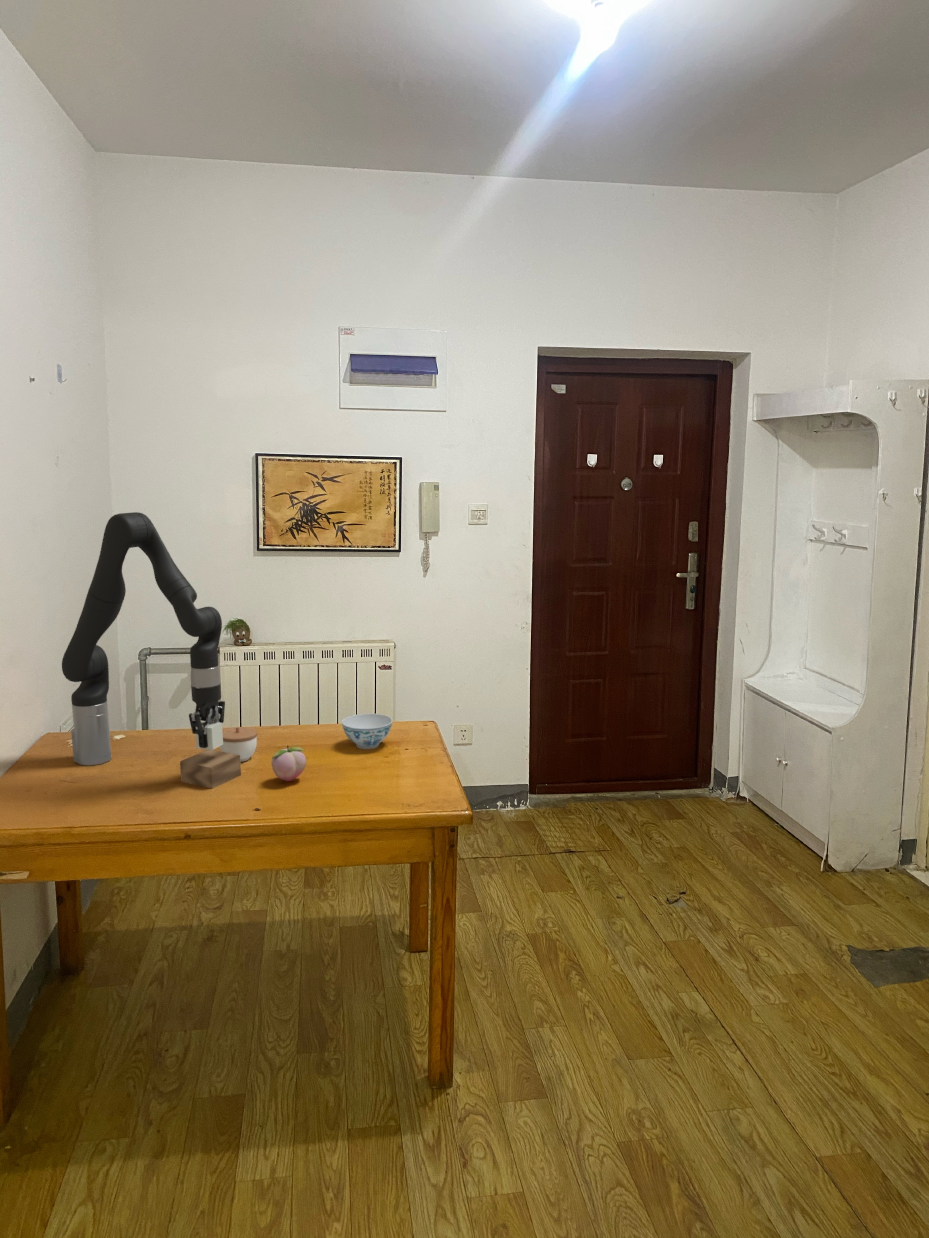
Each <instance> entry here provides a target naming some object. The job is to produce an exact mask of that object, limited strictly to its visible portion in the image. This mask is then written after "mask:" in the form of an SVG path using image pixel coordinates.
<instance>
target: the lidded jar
mask: <svg viewBox="0 0 929 1238" xmlns="http://www.w3.org/2000/svg"><path fill="white" fill-rule="evenodd" d="M222 732H223V745H221V746H219V747H220V751H221V752H227V753H232V754H237V755H240V763H242V762H246V761H249V760H250V759H251V757H252V756H253V755H254V753H255V751H256V750H257V744H258V731H257V729H255V728H253V727H252V728H251V727H247V726H245V727H244V726H243V727H242V726H236V727H230V728H227V729H224V730H222Z"/></svg>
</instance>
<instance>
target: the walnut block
mask: <svg viewBox="0 0 929 1238" xmlns="http://www.w3.org/2000/svg"><path fill="white" fill-rule="evenodd" d="M179 765H180V767H179V768H180V781H181V782H182V783H185V784H190V785H195V786H199V787H203V788H207V789H212V790H213V789H215V788H217V787H219V786H221V785H223V784H225V783H227V782H230V781H232V780H234V779H236V778H238V777H240V776H241V775H242V767H241V765H242V764H241V762H240V755H237V754H232V753H227V752H222V751H221V750H215V749H214V750H207V749H205V750H203V751H201V752H198V753H197V754H194V755H192V756H189V757H187V758H184V759H182V760H180V761H179Z"/></svg>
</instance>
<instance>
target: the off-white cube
mask: <svg viewBox="0 0 929 1238" xmlns="http://www.w3.org/2000/svg"><path fill="white" fill-rule="evenodd" d="M202 722H203V723H205V722H206V721H202ZM203 728H204V726H203V725H202V729H203ZM196 729H197V727H196ZM222 731H223V723H218V722H217V723H215V722H214V721H213V722H210V725H209V726H208V728H207V740H208V747H207V748H200V747H199V738H198V734H195V747H196V749H199V750H200V749H201V750H215V749H217V748H219V747H220V746H221V745H223V732H222Z"/></svg>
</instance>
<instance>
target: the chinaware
mask: <svg viewBox="0 0 929 1238" xmlns="http://www.w3.org/2000/svg"><path fill="white" fill-rule="evenodd" d="M341 725H342V729H343V732H344V734H345V736H346V737H347V738H348V740H350V742H352V743H354V744H355V745H356V747H357V748H358V749H361V750H362V749H363V750H372V749H376V748H378V747H379V746H380V743H381V742H383V741H384V740H385V739H386V738H387V737H388V735H389V734H390V731H391V729H392V725H393V718H392V717H391V716H388V715H386V714H382V713H359V714H354V715H350V716H347V717H344V718H343V719H342V720H341Z"/></svg>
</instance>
